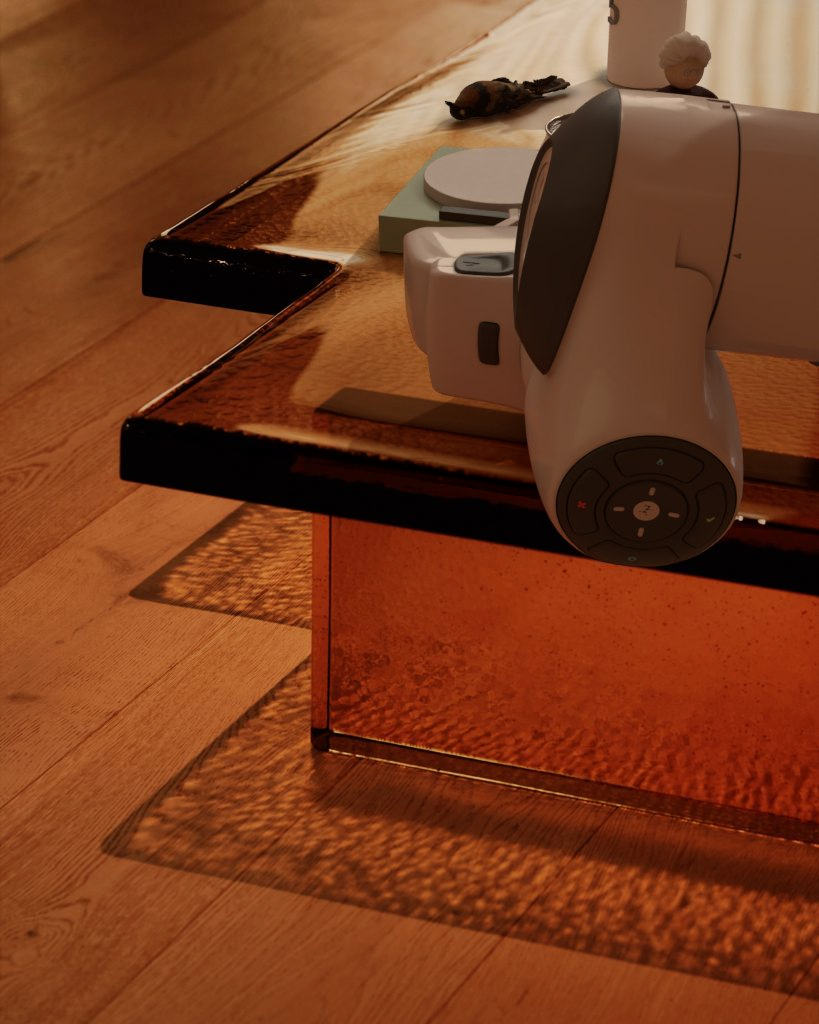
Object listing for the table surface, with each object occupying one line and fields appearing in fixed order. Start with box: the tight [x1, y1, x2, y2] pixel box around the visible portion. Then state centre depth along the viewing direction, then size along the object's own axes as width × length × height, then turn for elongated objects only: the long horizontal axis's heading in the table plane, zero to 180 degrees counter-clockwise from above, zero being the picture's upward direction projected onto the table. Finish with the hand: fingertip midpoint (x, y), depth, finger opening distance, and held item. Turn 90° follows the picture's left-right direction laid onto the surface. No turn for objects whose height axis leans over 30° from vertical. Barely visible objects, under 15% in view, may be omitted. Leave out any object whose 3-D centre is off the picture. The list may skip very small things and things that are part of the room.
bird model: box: [444, 74, 571, 121], centre depth 129 cm, size 3×14×3 cm, turn 125°
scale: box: [377, 145, 539, 255], centre depth 108 cm, size 13×14×3 cm
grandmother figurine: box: [655, 30, 719, 99], centre depth 106 cm, size 8×4×13 cm, turn 123°
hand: (593, 220), depth 87 cm, fingers closed on can, 6 cm apart
